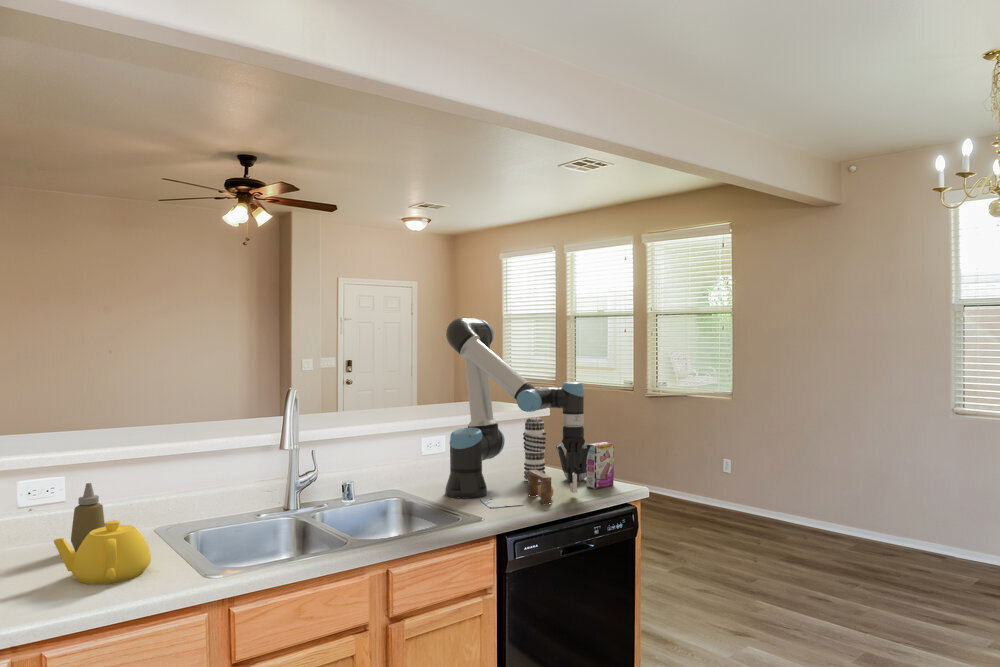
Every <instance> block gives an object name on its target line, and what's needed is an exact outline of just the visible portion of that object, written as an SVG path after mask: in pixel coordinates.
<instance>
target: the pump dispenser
mask: <svg viewBox="0 0 1000 667" xmlns="http://www.w3.org/2000/svg"><path fill="white" fill-rule="evenodd" d="M582 450H583V446H582V448H581V450H580V459H581V454H582ZM564 454H565V458H566V462H567V450H566V452H565V453H564ZM586 466H587V460H586V464H585V469H584V471H583V472H581V473H580V474H579V482H581V481H583V480H586ZM562 472H563V475H564V477H565V478H566V479H567V480H568V473H566V472H564V471H563V470H562ZM573 473H574V454H573Z"/></svg>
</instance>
